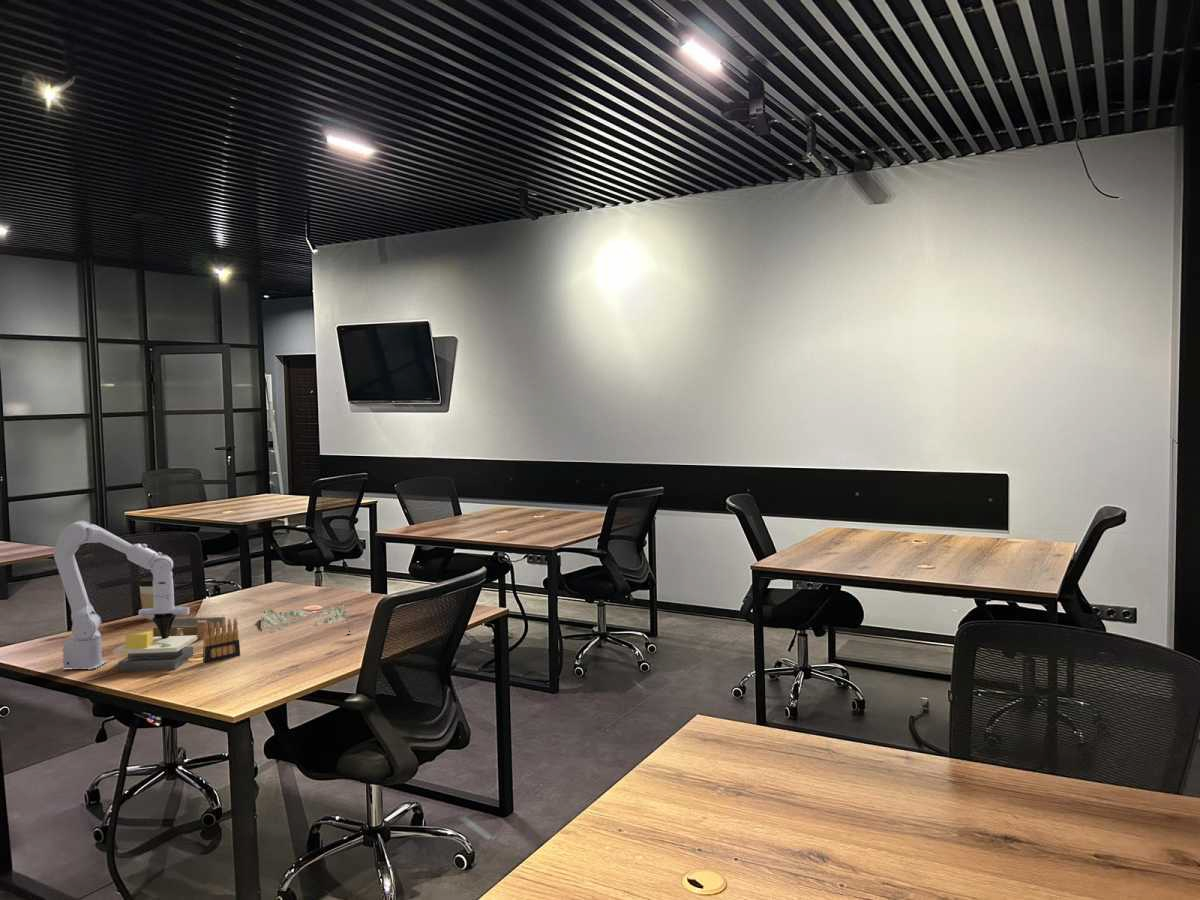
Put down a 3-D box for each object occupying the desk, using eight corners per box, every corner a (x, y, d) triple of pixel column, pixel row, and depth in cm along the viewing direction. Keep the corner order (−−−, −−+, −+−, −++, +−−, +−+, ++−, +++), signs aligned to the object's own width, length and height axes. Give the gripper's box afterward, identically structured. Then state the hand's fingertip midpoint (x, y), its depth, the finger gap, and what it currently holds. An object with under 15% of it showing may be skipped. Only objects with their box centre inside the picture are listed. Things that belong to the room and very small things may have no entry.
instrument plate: (112, 654, 243) (112, 636, 243) (137, 641, 259) (137, 624, 259) (176, 651, 245) (176, 634, 245) (197, 639, 261) (197, 622, 261)
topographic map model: (351, 636, 284) (350, 622, 284) (258, 646, 274) (258, 631, 273) (344, 613, 317) (344, 600, 317) (262, 621, 307) (261, 608, 307)
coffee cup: (174, 615, 314) (173, 576, 314) (158, 621, 304) (156, 581, 304) (150, 615, 315) (149, 576, 315) (133, 621, 306) (131, 581, 305)
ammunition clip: (205, 663, 252) (204, 624, 252) (202, 662, 254) (201, 623, 253) (240, 655, 260) (239, 618, 260) (238, 654, 261) (236, 617, 261)
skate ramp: (244, 624, 302) (244, 604, 301) (204, 651, 267) (204, 628, 267) (162, 626, 300) (162, 605, 300) (111, 654, 265) (110, 630, 265)
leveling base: (118, 671, 244) (118, 655, 244) (140, 658, 258) (139, 642, 258) (175, 669, 246) (174, 653, 246) (193, 656, 260) (192, 640, 260)
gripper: (192, 591, 262) (194, 633, 262) (144, 593, 260) (146, 635, 261) (183, 596, 255) (185, 639, 255) (134, 598, 253) (136, 641, 254)
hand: (165, 637), depth 258 cm, fingers closed, pressing on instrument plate
